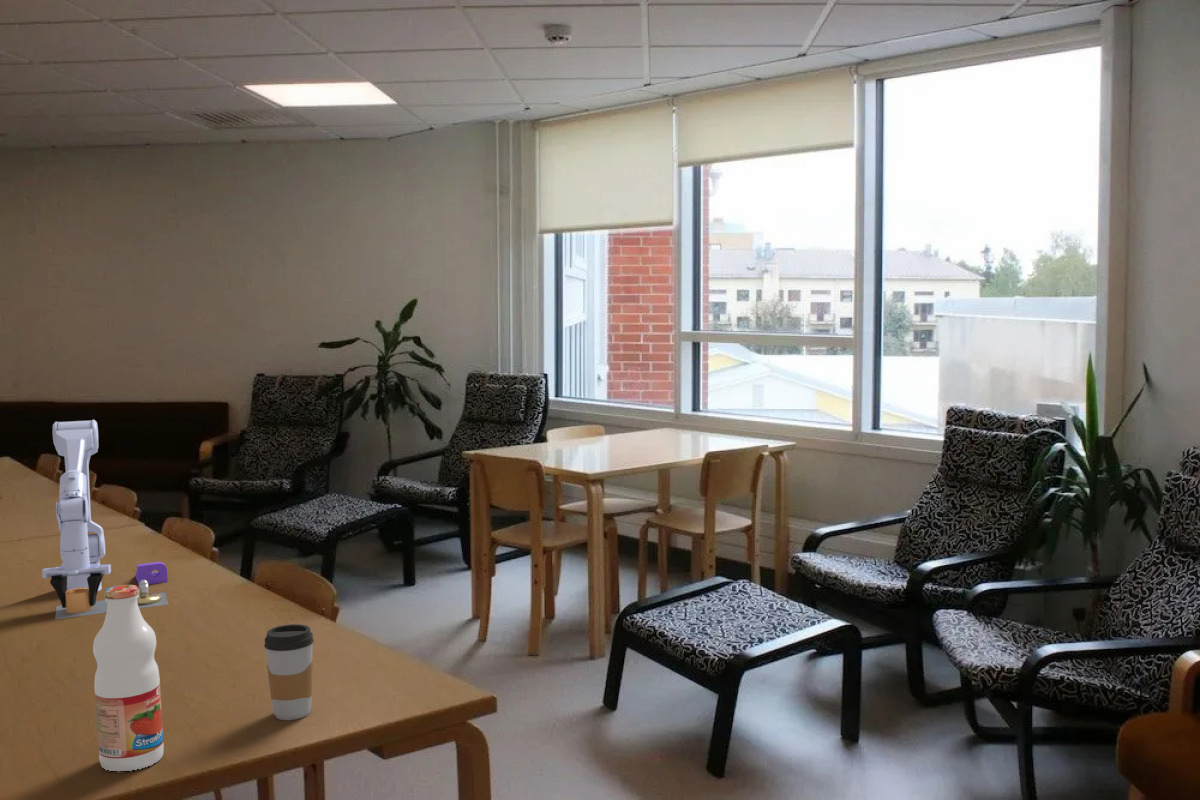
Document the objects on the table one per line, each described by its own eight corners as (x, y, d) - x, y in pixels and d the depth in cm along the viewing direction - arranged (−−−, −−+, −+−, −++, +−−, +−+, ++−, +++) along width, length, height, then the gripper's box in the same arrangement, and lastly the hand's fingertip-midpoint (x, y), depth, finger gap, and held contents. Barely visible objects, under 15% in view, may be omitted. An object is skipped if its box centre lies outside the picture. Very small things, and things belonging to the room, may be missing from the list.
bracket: (168, 588, 275) (166, 562, 274) (139, 592, 272) (137, 566, 271) (163, 578, 285) (161, 553, 285) (135, 582, 282) (133, 556, 282)
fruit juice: (113, 749, 174) (102, 581, 172) (172, 747, 175) (162, 579, 172) (89, 775, 165) (77, 597, 162) (152, 772, 165) (140, 595, 163)
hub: (121, 604, 255) (120, 582, 254) (143, 595, 261) (142, 575, 261) (145, 606, 252) (144, 584, 252) (167, 598, 259) (166, 577, 259)
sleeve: (61, 611, 249) (59, 593, 249) (79, 605, 254) (78, 586, 254) (79, 613, 247) (77, 594, 247) (97, 607, 252) (96, 588, 252)
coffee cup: (273, 706, 192) (269, 624, 190) (320, 703, 193) (317, 622, 191) (262, 724, 184) (258, 639, 182) (312, 721, 184) (308, 636, 183)
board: (55, 625, 243) (54, 604, 243) (56, 612, 254) (55, 591, 254) (168, 610, 254) (167, 589, 253) (165, 598, 264) (164, 578, 264)
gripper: (36, 554, 244) (40, 612, 245) (103, 550, 247) (107, 608, 248) (45, 547, 251) (49, 604, 252) (111, 543, 254) (115, 599, 255)
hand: (79, 605), depth 251 cm, fingers closed on sleeve, 5 cm apart
